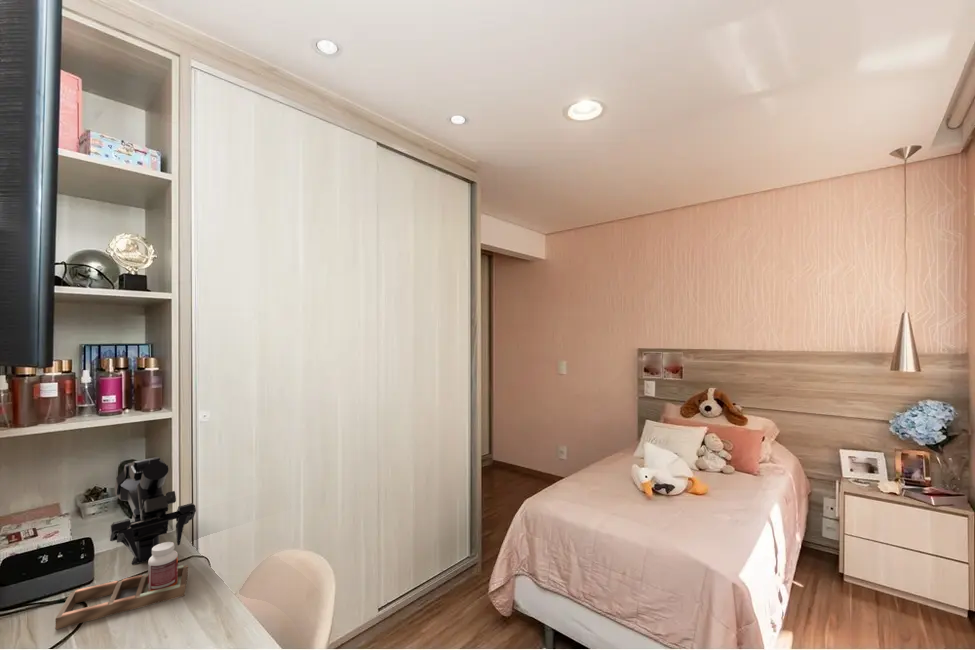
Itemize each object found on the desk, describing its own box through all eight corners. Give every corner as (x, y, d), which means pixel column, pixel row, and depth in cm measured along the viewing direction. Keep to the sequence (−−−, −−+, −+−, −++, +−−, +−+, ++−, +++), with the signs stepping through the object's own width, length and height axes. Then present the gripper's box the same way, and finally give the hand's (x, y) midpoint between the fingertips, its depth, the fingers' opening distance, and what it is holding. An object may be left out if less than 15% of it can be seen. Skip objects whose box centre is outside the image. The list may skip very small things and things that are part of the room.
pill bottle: (183, 584, 114) (183, 542, 114) (157, 598, 108) (158, 554, 108) (167, 579, 116) (168, 538, 116) (142, 592, 111) (142, 549, 111)
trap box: (55, 629, 98) (55, 617, 98) (70, 602, 107) (70, 591, 107) (184, 595, 110) (184, 584, 110) (188, 574, 120) (188, 563, 120)
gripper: (110, 493, 114) (115, 550, 106) (194, 475, 127) (204, 525, 120) (107, 513, 119) (111, 569, 112) (188, 494, 133) (196, 543, 125)
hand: (158, 550), depth 117 cm, fingers open, 9 cm apart
